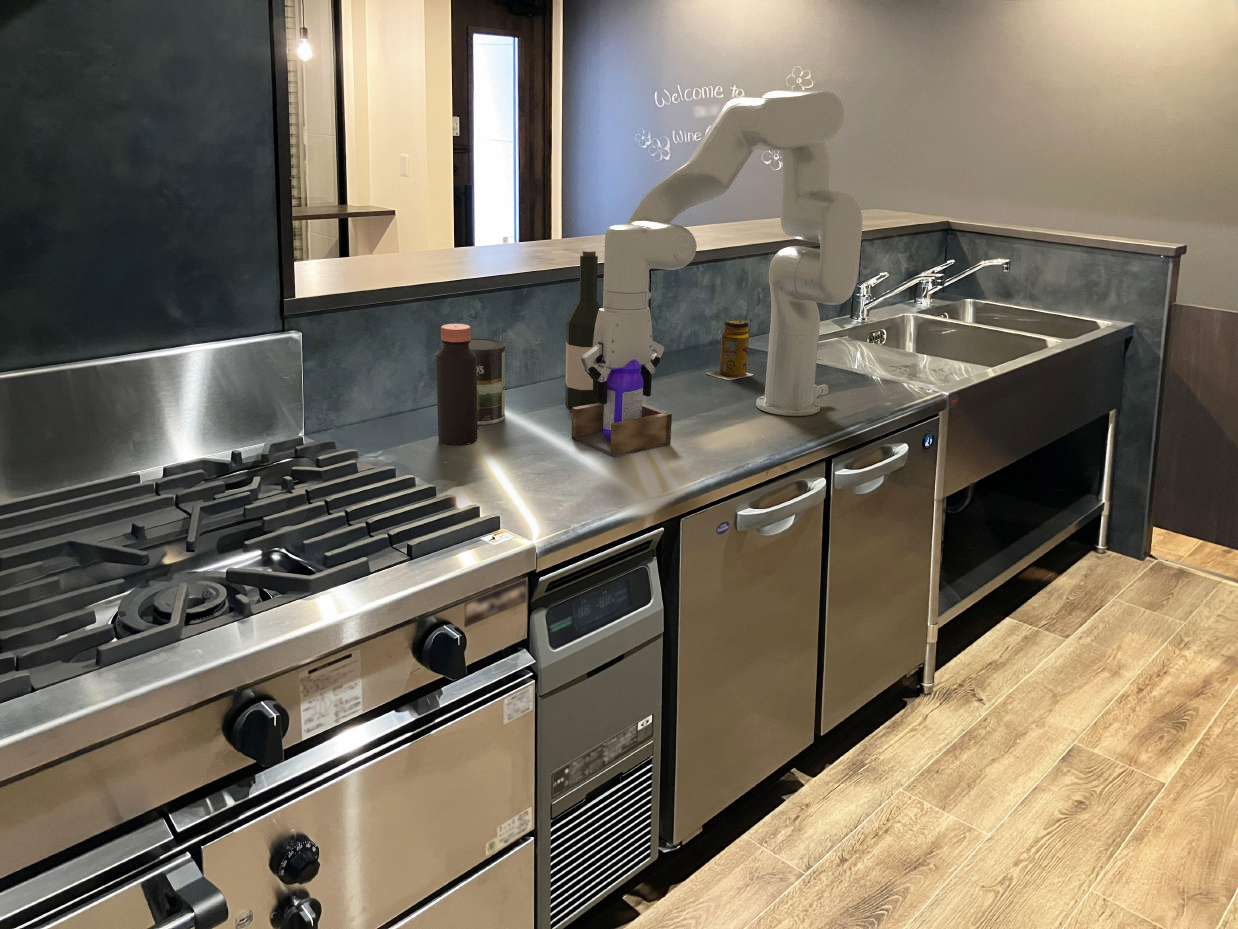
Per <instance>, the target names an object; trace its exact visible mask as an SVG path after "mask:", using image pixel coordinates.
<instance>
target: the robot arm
mask: <svg viewBox="0 0 1238 929" xmlns="http://www.w3.org/2000/svg"><path fill="white" fill-rule="evenodd" d="M717 114H718V115H717V116H716V118H715V119H714V120H713V122H712V123H711V125H710V127H709V128H708V129H707V131H706V133H705V135H704V136H703V138H702V139H701V141H700V142H699V144H698V145H697V147H696V148H695V149H694V151H693V153H692V155H691V156H690V158H689V159H688V160H687V162H686V163H685V164H683V165H682V166H681V167H679V168H678V169H676V170H675V171H674V172H672V173H671V174H670V175H668V176H667V177H665V179H663V180H662V181H660V182H659V183H658V184H657V185H655V186H654V187H653V188H652V189H651V190H650V191H649V192H647V193H646V195H645V196H644V197H643V198H642V200H640V202H639V204H638V206H636V208H635V209H634V211H633V212H632V214H631V216H630V218H629V219H628V221H627V222H626V224H617V225H616V224H615V225H612V226H609V227H608V228H607V229H606V230H605V233H604V253H603V256H604V259H603V266H604V267H603V295H602V296H603V298H602V301H603V302H602V308H600V309H599V311H598V315H597V319H596V324H595V330H594V339H593V348H592V349H591V350H589V351H588V352H587V353H586V354H584V355H583V356H582V357H581V361H582V363H583V366H584V367H585V371H586V372H587V373H588V375H589V376H590V378H591V379H593V400H594V401H595V402H597V403H600V404H603V405H604V404H606V403H607V389H608V383H607V382H606V381H604V380H605V379H606V377H607V376H608V374H609V373H610V371H611V370H615V369H620V368H623V367H624V366H625V365H626V364H627V363H628V362H629V361H631V360H633V359H634V360H637V361H638V362H639V364H640V365H642V367H641V369H640V373H641V376H642V378H643V397H651V395H652V382H653V381H652V380H653V379H652V378H653V374H654V373H656V368H657V367H658V365H659V364H660V362H661V358H662V356H663V353H664V351H665V346H664V345H662V344H660V343H658V342H656V341H655V340H653V325H652V324H653V322H652V316H651V310H650V307H649V306H648V302H649V300H651V298H652V293H651V291H649V277H650V270H651V269H659V270H668V271H672V270H673V271H674V270H680V269H682V268H685V267H687V266H688V265H689V264H690V263H691V262H692V261H693V259H694V258H695V256H696V252H697V247H698V246H697V241H696V238H695V236H694V234H693V233H692V232H691V231H690V230H689V229H688V228H686V227H684V226H683V225H679V224H675V223H672V222H673V221H674V220H675V219H676V218H677V217H678V216H680V215H681V213H684V212H685V211H686V210H689V209H690V208H692V207H695V206H698V205H701V204H703V203H706V202H709V201H711V200H714V199H716V198H719V197H721V196H723V195H725V194H726V193H727V192H728V191H729V189H730V188H731V187H732V185H733V183H734V182H735V180H736V178H737V177H738V176H739V174H740V172H741V171H742V169H743V168H744V167H745V164H746V163H747V162H748V160H749V158H750V157H751V156H752V154H753V153H754V151H755V150H763V151H779V153H780V156H781V159H782V189H781V201H780V202H781V203H780V204H781V205H780V225H781V230H782V231H783V233H784V234H785V235H786V236H789V238H792V239H795V240H800V241H806V242H812V243H818V244H819V248H820V249H818V248H813V247H808V246H807V247H806V246H802V245H801V246H800V245H799V246H798V245H793V246H787V247H784V248H782V249H780V250H779V251H777V252H776V253H775V255H774V256H773V258H772V259H771V261H770V264H769V270H768V281H769V289H770V290H769V291H770V299H771V300H770V302H771V304H770V305H771V306H770V307H771V310H770V324H769V334H768V335H769V336H768V348H767V361H766V362H767V363H766V373H765V374H766V375H765V389H764V395H762V396H759V397H757V398H756V400H755V401H756V402H755V406H756V407H757V408H758V410H761V411H763V412H766V413H769V414H772V415H778V416H788V417H803V416H810V415H811V416H812V415H815V414H817V413H818V412H820V410H821V404H820V402H819V401H817V397H818V396H820V395H826V394H828V393H829V386H828V384H825V383H824V384H821V385H817V384H815V381H816V371H817V361H818V349H819V348H818V347H819V340H820V339H819V338H820V330H821V328H820V327H821V316H820V311H819V307H818V304H817V303H819V304H820V303H821V304H825V305H830V306H832V305H833V306H837V305H841V304H844V303H845V302H846V301H848V300H849V299H850V298H851V297H852V295H853V293H854V291H855V288H856V285H857V281H858V275H859V266H860V258H861V257H860V256H861V246H862V245H861V244H862V233H863V215H862V209H861V206H860V204H859V202H858V200H857V199H856V198H855V197H854V196H852V195H851V194H849V193H848V192H845V191H838V190H831V189H830V172H831V171H830V168H831V167H830V166H831V164H830V153H829V151H828V148H827V145H826V142H829V141H831V140H832V139H833V138H834V137H836V135H837V134H839V131H840V130H841V128H842V126H843V123H844V120H845V108H844V105H843V103H842V100H841V99H840V97H839V96H837V95H836V94H835V93H833V92H831V91H828V90H823V89H822V90H820V89H813V90H812V89H777V90H776V89H775V90H773V91H770V92H766V93H765V94H764V95H763V96H739V97H736V98H733V99H731V100H729V101H728V102H727V103H726V104H725V105H724V106H723V108H722V109H721V110H720V111H719V113H717ZM593 363H594V364H596V366H595V367H594V366H593ZM602 369H603V370H602ZM601 370H602V371H601ZM600 372H601V373H600Z"/></svg>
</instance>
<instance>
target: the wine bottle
mask: <svg viewBox="0 0 1238 929" xmlns="http://www.w3.org/2000/svg"><path fill="white" fill-rule="evenodd" d="M598 258H599V255H598V254H596V250H595V249H594V250H593V249H585V250H582V254H580V255H579V296H578V298H579V299H578V301H577V303H576V304H575V306H574V307H573V309H572V310H571V312H570V313H569V315H568V316H567V318H566V326H565V329H566V330H565V333H566V335H565V383H564V384H565V388H564V389H565V390H564V391H565V393H564V401H565V402H564V404H565V406H566V407H567V409H571V410H572V408H573V407H579V406H584V405H590V404H595V403H597V402H595V401H594V400H593V379H591V378H590V376H589V375H588V373H587V372H586V371H585V367H584V366H583V363H582V361H581V357H582V356H583V355H584V354H586V353H587V352H588V351H589V350H591V349H592V348H593V339H594V330H595V324H596V319H597V315H598V311H599V309H600V308H601V305H600V303H599V301H598V269H599V268H598V266H599V265H598V264H599V259H598ZM593 366H594V367H595V366H596V364H594V363H593ZM602 370H603V369H602ZM602 370H601V371H602ZM600 373H601V372H600ZM606 379H607V377H606ZM606 379H605V380H604V381H606Z"/></svg>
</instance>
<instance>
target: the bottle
mask: <svg viewBox="0 0 1238 929" xmlns="http://www.w3.org/2000/svg"><path fill="white" fill-rule="evenodd" d="M641 367H642V365H640V364H639V362H638V361H637V360H634V359H633V360H631V361H629V362H628V363H627V364H626V365H625V366H624V367H623V368H620V369H615V370H611V371H610V373H609V374H608V376H607V379H606V382H607V383H608V389H607V403H606V404H604V418H603V434H604V437H605V438H606V439H609V440H611V423H616V422H621V421H626V420H631V419H636V418H641V417H642V403H643V399H644V395H643V378H642V376H641V373H640V371H641Z"/></svg>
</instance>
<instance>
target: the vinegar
mask: <svg viewBox="0 0 1238 929" xmlns="http://www.w3.org/2000/svg"><path fill="white" fill-rule="evenodd" d="M471 330H472V329H471V326H470V325H469V324H465V323H448V324H443V325H442V326H440V337H441V343H442V344H443V345H442V346H443V348H441V350H440V351H439V352H438V353H437V354H436V357H435V363H436V364H435V365H436V366H435V367H436V368H435V369H436V370H435V371H436V398H437V399H436V400H437V404H436V405H437V406H436V407H437V436H438V440H439V442H441V443H442V444H445V445H450V446H465V445H470V444H473V443H476V442H477V440H478V436H479V435H478V430H479V429H478V428H479V427H478V426H479V425H478V424H477V357H476V355H475V353H474V352H473V351H472V350H471V349H470V348H469V343H470V339H471V338H472V335H471V334H472V333H471Z"/></svg>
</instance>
